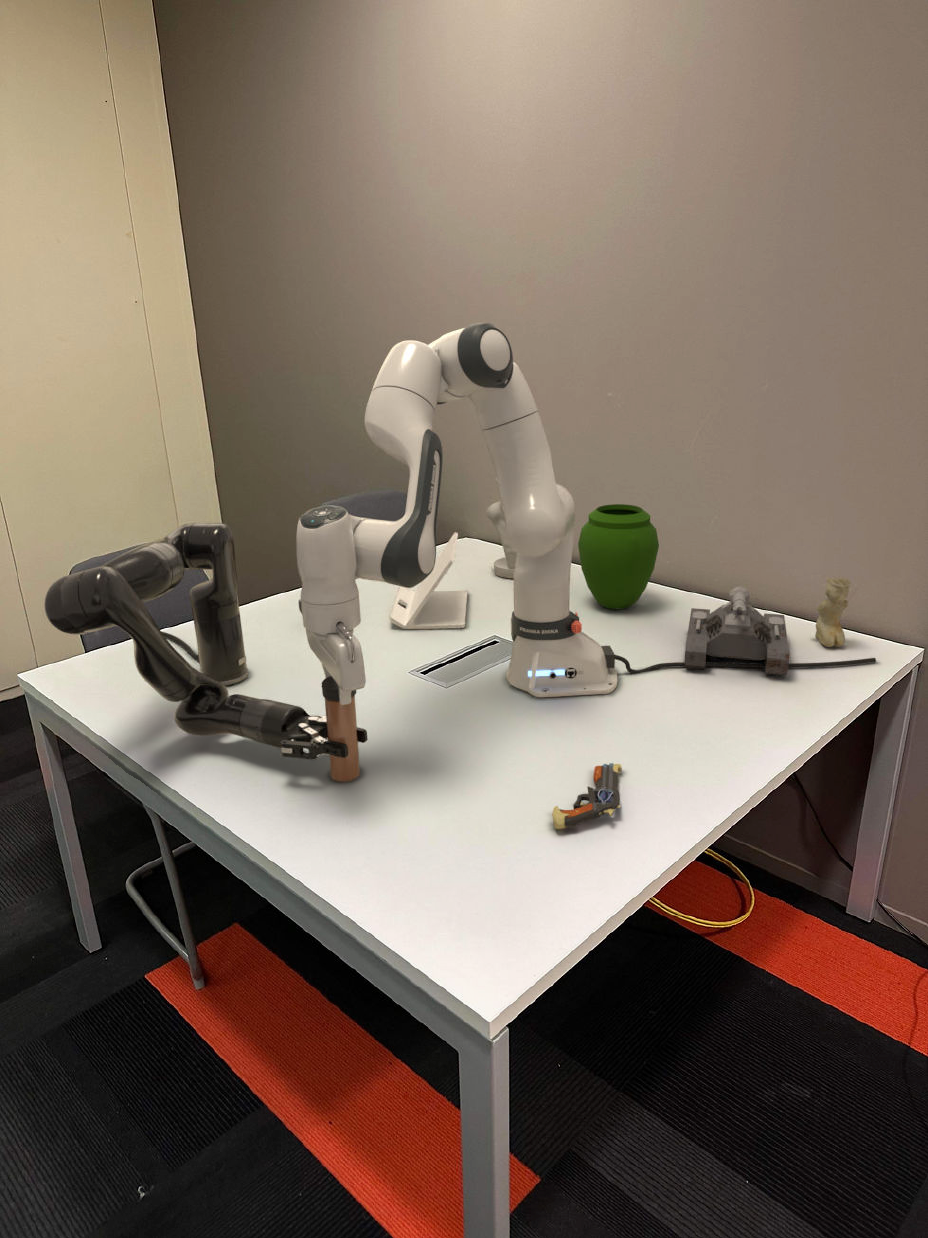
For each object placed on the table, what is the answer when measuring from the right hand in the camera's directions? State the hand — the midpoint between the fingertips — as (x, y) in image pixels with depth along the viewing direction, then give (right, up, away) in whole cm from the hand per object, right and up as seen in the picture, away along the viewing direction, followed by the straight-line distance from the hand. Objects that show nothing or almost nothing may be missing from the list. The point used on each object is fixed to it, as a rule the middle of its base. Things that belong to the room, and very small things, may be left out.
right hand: (338, 694), depth 136 cm
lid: (0, +2, -1) cm, 2 cm away
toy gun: (+39, -16, -4) cm, 43 cm away
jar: (0, -14, +5) cm, 15 cm away
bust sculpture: (+37, +24, +103) cm, 112 cm away
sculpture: (+100, +7, +51) cm, 112 cm away
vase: (+58, +16, +78) cm, 99 cm away
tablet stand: (+12, +14, +78) cm, 80 cm away
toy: (+78, +5, +47) cm, 92 cm away
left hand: (+3, -8, +2) cm, 9 cm away
